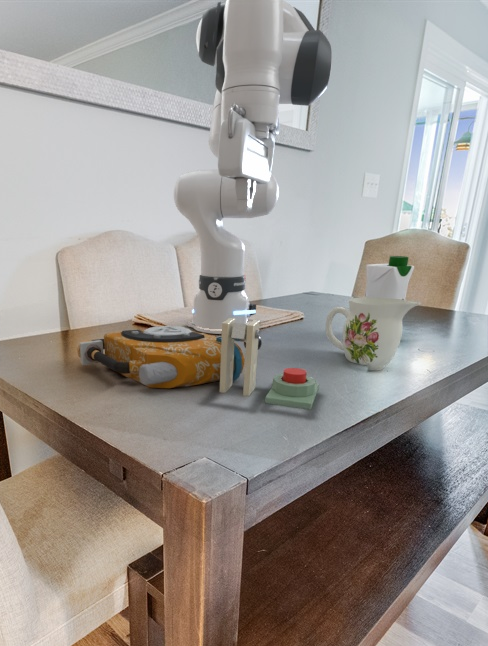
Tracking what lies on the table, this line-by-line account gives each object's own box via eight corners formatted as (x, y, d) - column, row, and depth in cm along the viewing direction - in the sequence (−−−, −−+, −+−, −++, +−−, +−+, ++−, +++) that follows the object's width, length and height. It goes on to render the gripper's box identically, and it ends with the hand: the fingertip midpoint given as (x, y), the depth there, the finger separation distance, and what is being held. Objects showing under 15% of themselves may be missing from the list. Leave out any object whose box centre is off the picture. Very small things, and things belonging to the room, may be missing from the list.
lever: (244, 352, 85) (247, 335, 85) (261, 354, 84) (264, 336, 84) (227, 340, 73) (230, 320, 73) (247, 342, 72) (250, 321, 72)
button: (284, 376, 76) (285, 366, 76) (307, 379, 75) (308, 369, 74) (280, 383, 73) (281, 372, 72) (303, 386, 72) (305, 375, 71)
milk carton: (380, 345, 110) (394, 258, 103) (351, 336, 118) (363, 255, 110) (404, 340, 114) (420, 256, 107) (375, 333, 122) (388, 254, 114)
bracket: (223, 384, 83) (225, 314, 79) (266, 390, 81) (272, 317, 76) (205, 403, 75) (207, 325, 70) (253, 411, 72) (258, 330, 67)
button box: (276, 389, 81) (278, 368, 79) (317, 395, 79) (320, 373, 77) (264, 410, 72) (266, 386, 71) (309, 417, 70) (312, 392, 68)
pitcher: (334, 351, 105) (342, 289, 100) (416, 368, 93) (430, 299, 88) (309, 361, 97) (316, 295, 92) (395, 380, 86) (409, 306, 81)
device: (133, 358, 68) (67, 326, 92) (135, 410, 71) (71, 366, 95) (251, 340, 79) (166, 316, 103) (249, 385, 82) (166, 352, 106)
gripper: (253, 97, 61) (247, 210, 66) (281, 125, 79) (275, 212, 84) (208, 101, 64) (206, 210, 69) (245, 127, 81) (241, 212, 86)
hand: (244, 211), depth 77 cm, fingers closed
